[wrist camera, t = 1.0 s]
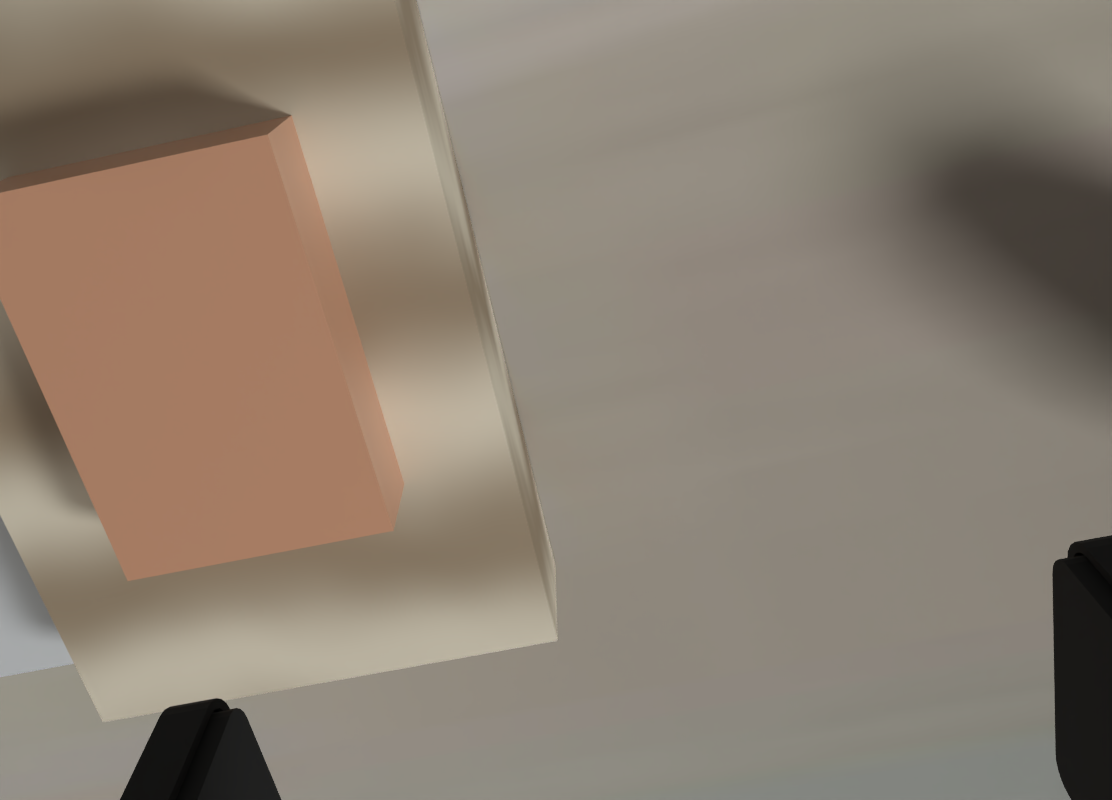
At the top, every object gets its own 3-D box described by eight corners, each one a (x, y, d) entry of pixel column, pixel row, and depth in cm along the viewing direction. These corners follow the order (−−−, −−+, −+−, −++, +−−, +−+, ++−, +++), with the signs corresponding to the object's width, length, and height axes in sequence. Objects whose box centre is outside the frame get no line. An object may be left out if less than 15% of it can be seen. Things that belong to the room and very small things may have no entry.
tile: (7, 177, 25) (-44, 201, 23) (291, 115, 24) (267, 134, 22) (158, 531, 29) (127, 581, 27) (404, 484, 29) (393, 530, 26)
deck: (-171, -59, 26) (-284, -56, 23) (370, -188, 25) (342, -206, 22) (147, 639, 35) (103, 722, 32) (555, 564, 34) (557, 640, 31)
